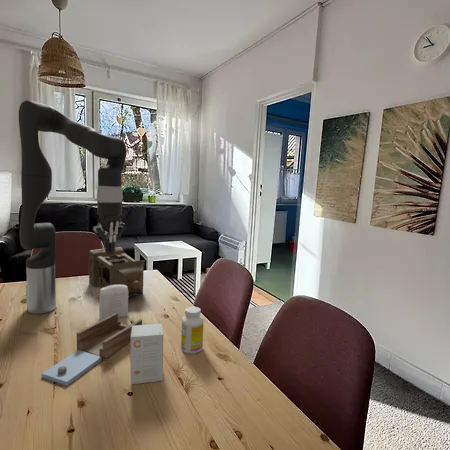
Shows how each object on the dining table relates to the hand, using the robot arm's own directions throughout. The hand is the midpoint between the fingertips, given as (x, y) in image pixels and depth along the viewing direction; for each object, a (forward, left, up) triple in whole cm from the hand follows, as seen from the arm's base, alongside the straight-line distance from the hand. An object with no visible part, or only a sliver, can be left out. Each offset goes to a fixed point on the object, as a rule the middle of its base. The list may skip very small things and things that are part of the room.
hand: (109, 253), depth 100 cm
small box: (+26, -14, -27) cm, 40 cm away
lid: (+7, -21, -27) cm, 35 cm away
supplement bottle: (+30, +3, -27) cm, 41 cm away
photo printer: (-6, +8, -27) cm, 29 cm away
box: (+6, -6, -27) cm, 28 cm away
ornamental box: (-22, +29, -27) cm, 45 cm away
